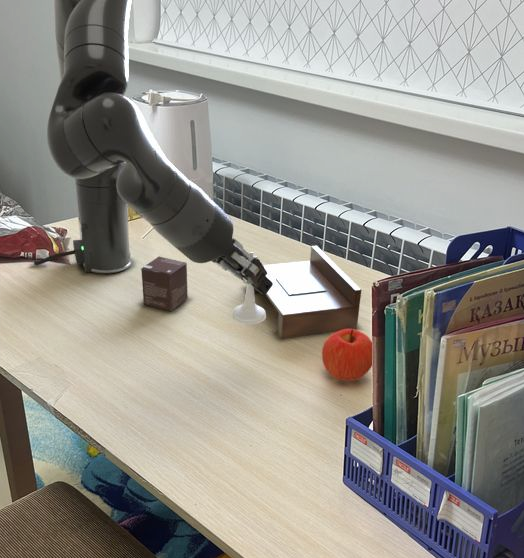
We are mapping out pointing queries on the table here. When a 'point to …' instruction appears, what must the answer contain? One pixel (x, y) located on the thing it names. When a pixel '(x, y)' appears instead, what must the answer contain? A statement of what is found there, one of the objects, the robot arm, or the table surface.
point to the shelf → (312, 296)
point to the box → (164, 283)
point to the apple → (347, 354)
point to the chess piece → (249, 307)
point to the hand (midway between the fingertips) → (261, 285)
